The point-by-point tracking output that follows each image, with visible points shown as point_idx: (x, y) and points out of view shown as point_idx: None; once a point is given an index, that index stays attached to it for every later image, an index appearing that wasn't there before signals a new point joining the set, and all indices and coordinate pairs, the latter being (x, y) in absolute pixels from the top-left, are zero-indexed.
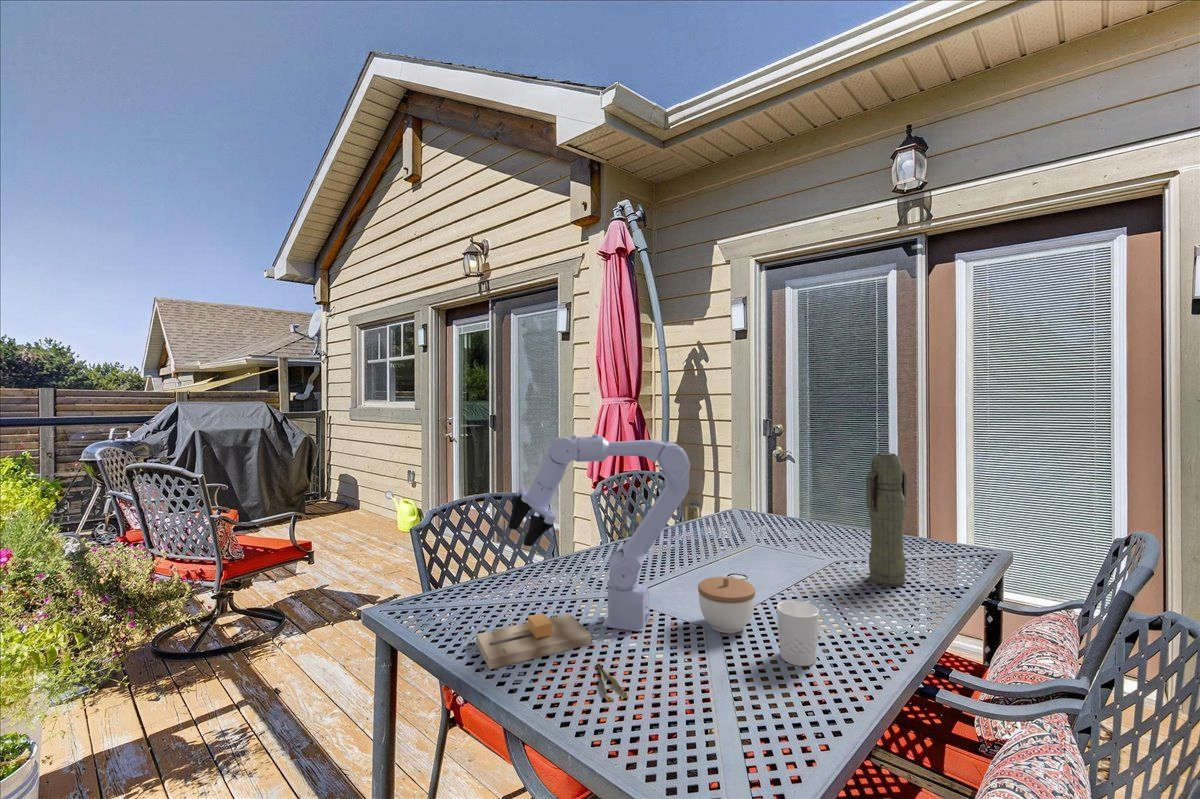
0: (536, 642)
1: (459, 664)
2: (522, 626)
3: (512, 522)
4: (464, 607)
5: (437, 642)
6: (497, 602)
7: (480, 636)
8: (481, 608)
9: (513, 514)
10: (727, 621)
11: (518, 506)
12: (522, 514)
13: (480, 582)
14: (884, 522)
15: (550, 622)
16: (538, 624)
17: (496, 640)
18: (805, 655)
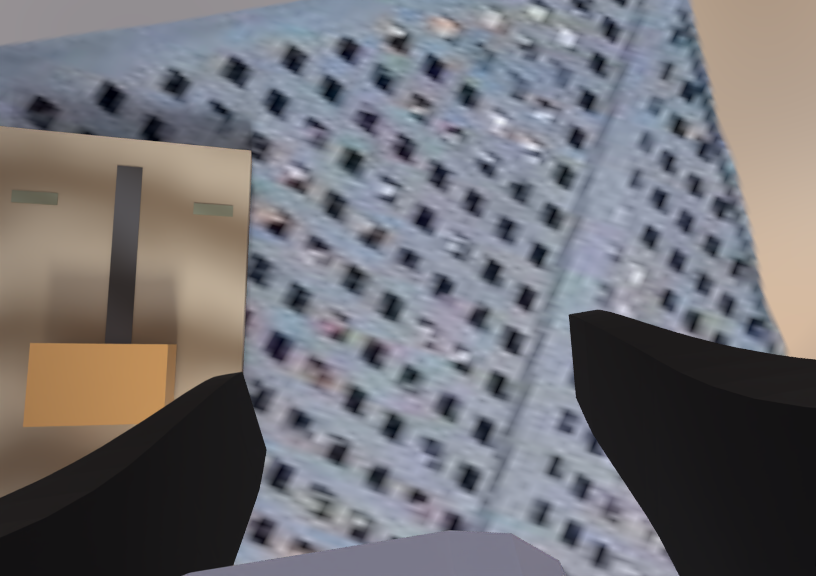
0: (33, 337)
1: (123, 66)
2: (218, 332)
3: (597, 345)
4: (561, 211)
5: (331, 53)
6: (551, 332)
7: (221, 158)
8: (526, 263)
9: (657, 358)
10: None
11: (752, 471)
12: (675, 518)
13: (749, 325)
14: None
15: (33, 422)
16: (47, 362)
17: (149, 200)
18: None
